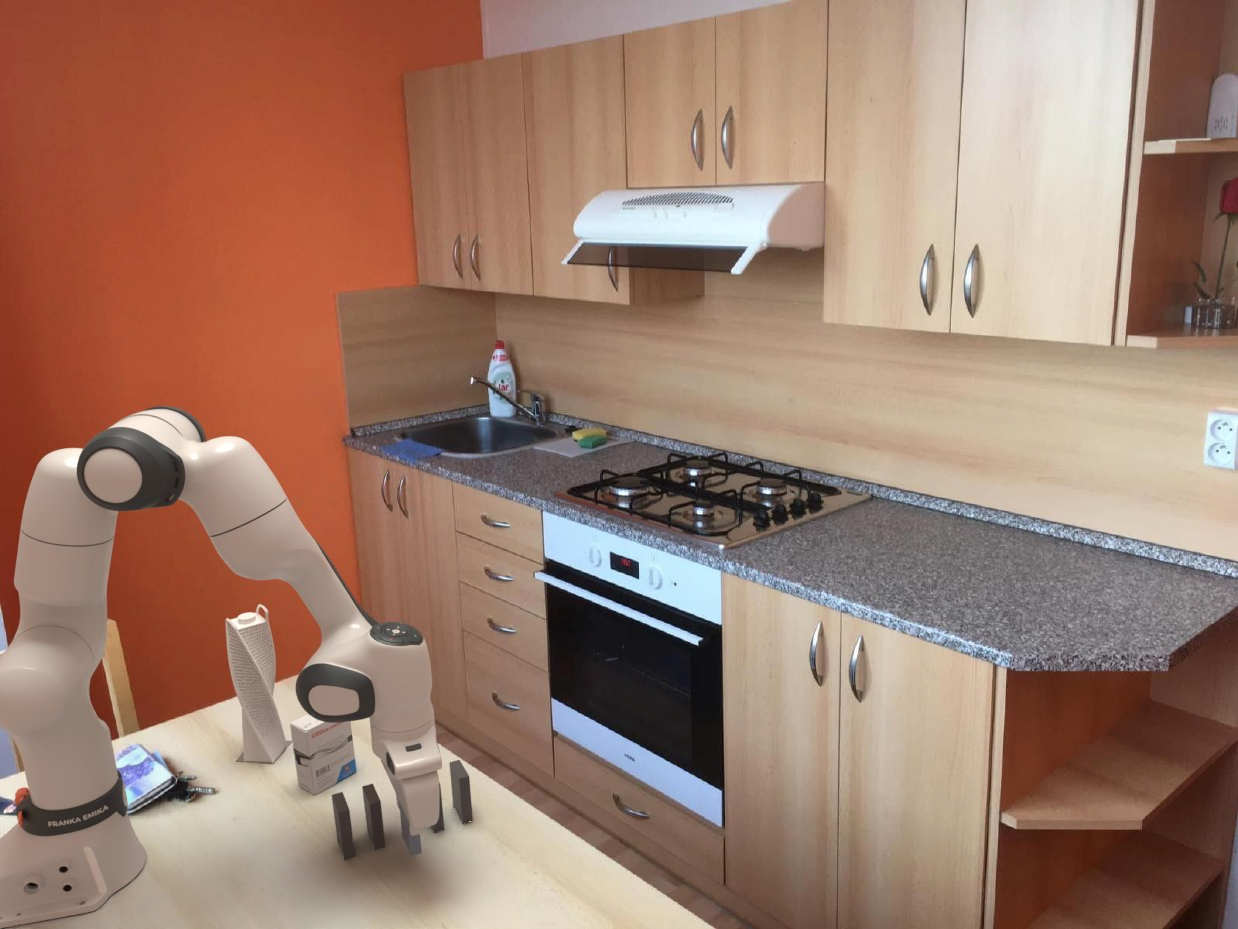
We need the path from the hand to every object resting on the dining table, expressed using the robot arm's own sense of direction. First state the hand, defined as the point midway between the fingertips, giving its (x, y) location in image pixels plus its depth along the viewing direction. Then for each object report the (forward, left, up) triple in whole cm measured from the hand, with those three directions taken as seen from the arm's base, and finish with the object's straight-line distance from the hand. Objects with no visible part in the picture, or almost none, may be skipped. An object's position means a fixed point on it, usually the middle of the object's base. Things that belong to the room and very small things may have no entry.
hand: (409, 819), depth 149 cm
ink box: (-7, +27, -7) cm, 29 cm away
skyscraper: (-15, +40, -7) cm, 43 cm away
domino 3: (0, 0, -4) cm, 4 cm away
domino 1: (-8, +7, -7) cm, 13 cm away
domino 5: (+10, +7, -7) cm, 14 cm away
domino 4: (+5, +7, -7) cm, 11 cm away
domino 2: (-4, +7, -7) cm, 10 cm away
